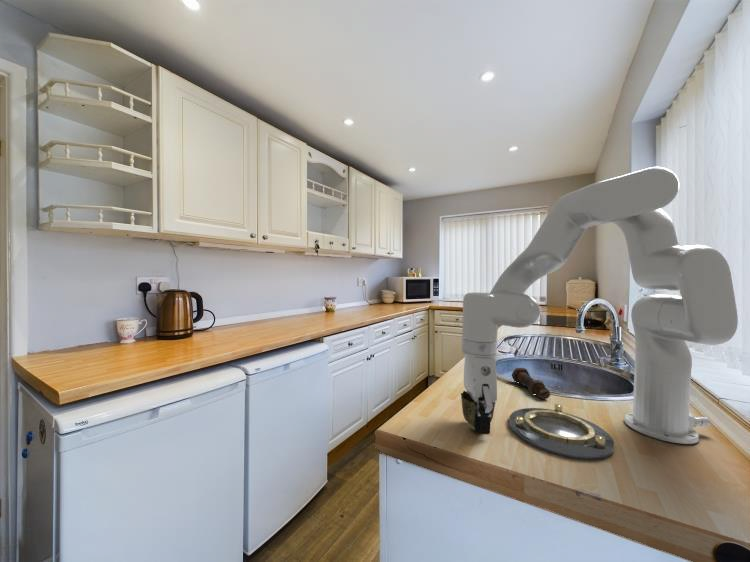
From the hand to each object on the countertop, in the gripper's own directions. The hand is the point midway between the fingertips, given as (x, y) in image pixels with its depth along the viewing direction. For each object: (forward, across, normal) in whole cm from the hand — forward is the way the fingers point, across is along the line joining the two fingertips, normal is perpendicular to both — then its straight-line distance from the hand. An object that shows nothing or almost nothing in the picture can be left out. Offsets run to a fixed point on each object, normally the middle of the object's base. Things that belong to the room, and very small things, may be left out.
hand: (476, 424), depth 69 cm
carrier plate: (+1, 0, -18) cm, 18 cm away
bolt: (+2, +25, -24) cm, 35 cm away
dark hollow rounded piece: (+2, 0, 0) cm, 2 cm away
